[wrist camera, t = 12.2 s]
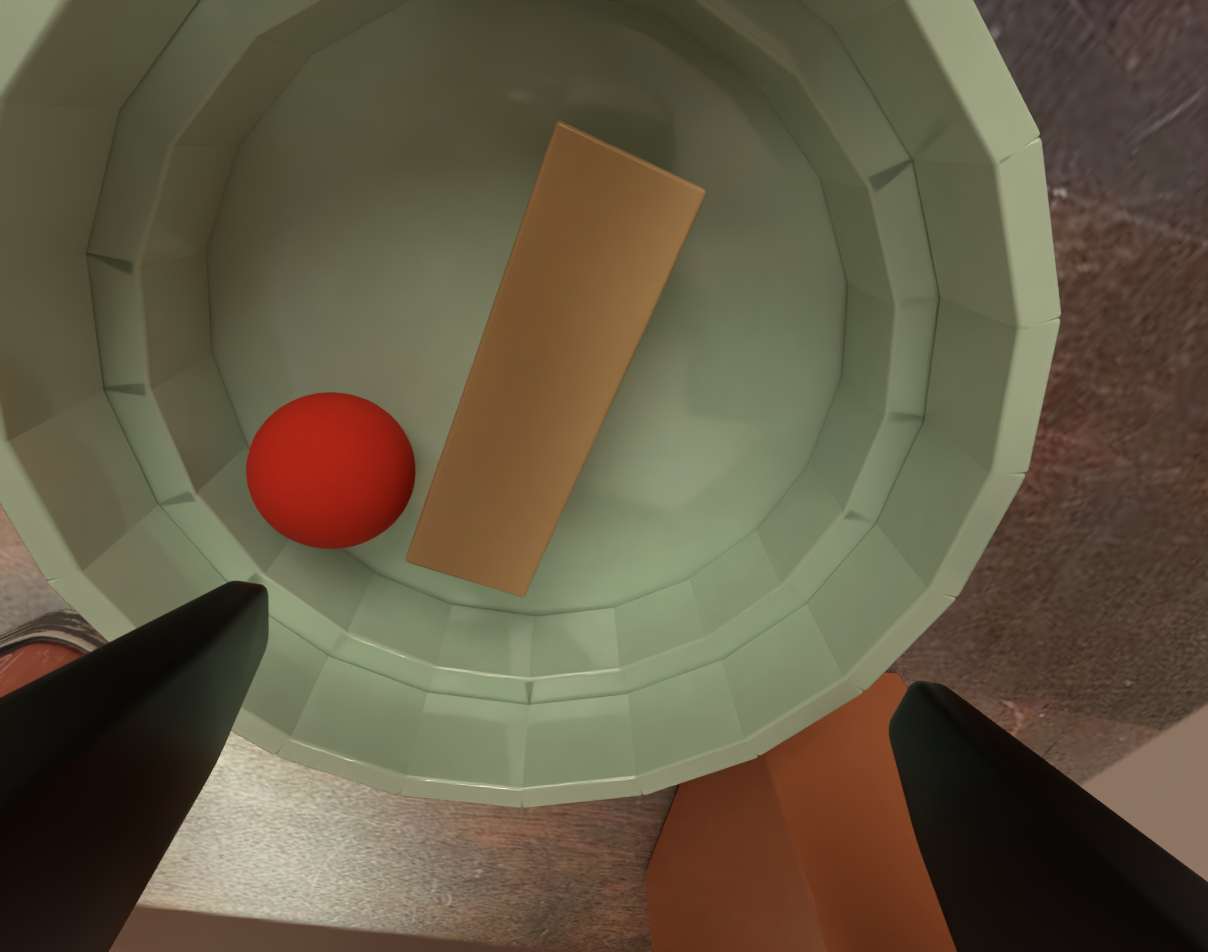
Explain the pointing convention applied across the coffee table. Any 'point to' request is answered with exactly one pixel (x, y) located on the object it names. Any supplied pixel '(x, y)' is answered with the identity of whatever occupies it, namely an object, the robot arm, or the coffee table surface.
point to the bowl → (454, 329)
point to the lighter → (44, 647)
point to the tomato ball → (330, 470)
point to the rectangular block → (799, 848)
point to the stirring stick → (551, 356)
